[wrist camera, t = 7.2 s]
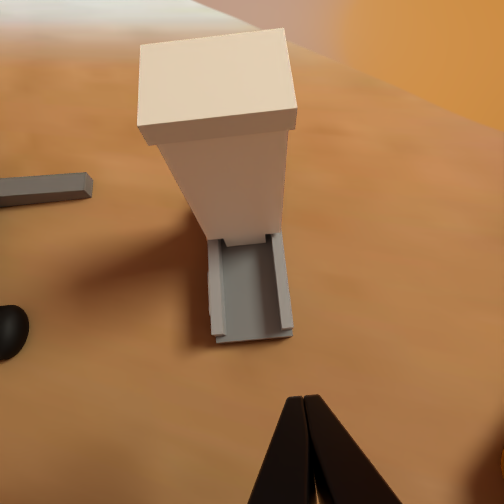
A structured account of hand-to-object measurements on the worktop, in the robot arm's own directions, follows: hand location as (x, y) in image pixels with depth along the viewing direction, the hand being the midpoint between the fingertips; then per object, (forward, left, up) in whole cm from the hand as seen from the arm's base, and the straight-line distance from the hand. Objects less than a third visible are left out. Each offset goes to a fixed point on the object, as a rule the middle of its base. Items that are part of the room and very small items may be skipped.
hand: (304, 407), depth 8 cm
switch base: (+1, +9, -13) cm, 16 cm away
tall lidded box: (+1, +11, -12) cm, 16 cm away
